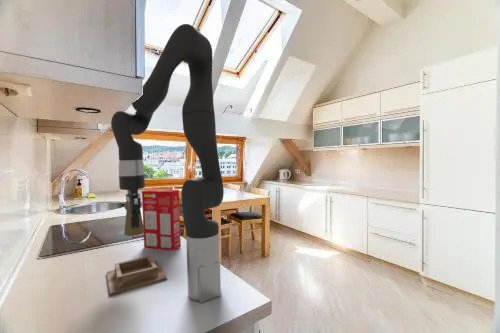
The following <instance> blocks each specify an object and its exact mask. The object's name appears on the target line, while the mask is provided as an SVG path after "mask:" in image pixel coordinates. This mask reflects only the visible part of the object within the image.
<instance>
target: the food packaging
mask: <svg viewBox="0 0 500 333" xmlns="http://www.w3.org/2000/svg"><path fill="white" fill-rule="evenodd" d="M141 200H142V201H141V202H142V221H143V226H144V231H145V232H144V233H143V248H144V249H153V250H163V251H164V250H165V251H176V250H177V249H178V248H180V247H181V241H182V240H181V220H180V218H181V217H180V216H181V214H180V213H181V212H180V190H179V189H146V190H142V191H141Z"/></svg>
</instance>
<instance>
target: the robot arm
mask: <svg viewBox="0 0 500 333" xmlns="http://www.w3.org/2000/svg"><path fill="white" fill-rule="evenodd" d="M182 62H184V63H185V64H187V66H188V70H189V71H188V72H189V79H190V80H189V82H190V83H189V89H188V92H187V94H186V96H185V99H184V102H183V104H182V109H181V117H182V129H183V134H184V136H185V138H186V140H187V142H188V143H189V146H190V147H191V148H192V150H193V152H194V153H195V154H196V156H197V159H198V161H199V164H200V169H201V177H194V178H193V177H192V178H188V179H186V180H185V181H184V182H183V183H182V187H181V205H182V206H181V207H182V218H183V225H184V228H185V229H184V230H185V236H186V237H185V238H186V239H185V240H186V245H185V246H186V265H187V266H186V267H187V268H186V271H187V272H186V276H187V295H188V296H187V297H188V298H190V299H191V300H193V301H198V302H199V303H205V302H207V301H210V300H213V299H215V298H218V297H221V296H222V292H221V291H222V288H221V262H220V233H219V232H220V229H219V228H220V226H219V223H218V222H217V221H216V220H213V219H208V218H206V214H205V210H210V209H213V208H217V207H220V205H221V204H222V202H223V199H224V183H223V178H222V171H221V166H220V160H219V151H218V142H217V132H216V131H217V130H216V128H217V127H216V115H215V104H214V91H213V47H212V43H211V41H210V40H209V39H208V37H206V36H205V35H204V34H202V33H201V32H200V31H199V30H198V29H197V28H196V27H194V26H193V25H191V24H188V23H183V24H181V25H179V26H177V28H175V30H174V31H173V32H172V33H171V35H170V36H169V39H168V40H167V42H166V45H165V46H164V49H163V50H162V52H161V54H160V56H159V58H158V60H157V62H156V64H155V66H154V68H153V70H152V71H151V74H150V75H149V77H148V78H147V80H146V81H145V83H144V84H143V85H142V87H143V95H142V96H141V97H140V98H139V99H138V100H136V101H135V102H133V103H132V102H131V105H132V108H133V109H134V110H135V112H129V111H124V110H118V111H116V112H114V114H113V115H112V117H111V121H110V125H111V130H112V133H113V136H114V138H115V139H114V140H115V143H116V145H117V148H118V184H119V185H118V186H119V190H122V191H127V193H126V194H125V200H126V201H128V209H129V210H130V216H131V226H132V228H134V227H137V228H138V227H139V215H140V214H141V215H142V212H141V213H140V210H141V209H140V201H141V200H142V197H141V194H140V193H139V189H140V190H141V189H144V188H146V185H145V184H146V181H145V180H146V178H145V165H144V155H143V153H144V151H143V145H142V144H141V143H140V142H138V141H136V140H134V137H133V136H138V135H141V134H143V133H145V131H147V129H148V127H149V125H150V123H151V121H152V118H153V115H154V113H155V112H156V111H157V109H158V108H159V107H160V106H161V105H162V103H163V102H164V101H165V99H166V97H167V95H168V93H169V87H170V83H171V80H172V76H173V73H175V71H176V69H177V68H178V66H180V64H181V63H182ZM126 201H125V202H126ZM130 203H131V206H130ZM134 209H137V211H136V212H133V210H134Z"/></svg>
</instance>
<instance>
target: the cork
mask: <svg viewBox="0 0 500 333" xmlns="http://www.w3.org/2000/svg"><path fill="white" fill-rule="evenodd" d="M123 206H124V209H125V210H126V212H125V221H124V222H125V223H124V232H123V233H124V234H123V235H124V236H126V237H133V236H140V235H143V234H144V232H145V231H144V226H143V215H142V211H141V208H143V206H142V201H141V200H140V213H141V214H140V215H139V227H138V228H137V227H134V228H132V226H131V216H130V210H129V209H128V201H125V202H124V205H123ZM130 206H131V203H130ZM136 211H137V209H134V210H133V212H136Z"/></svg>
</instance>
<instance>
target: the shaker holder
mask: <svg viewBox="0 0 500 333" xmlns="http://www.w3.org/2000/svg"><path fill="white" fill-rule="evenodd" d="M106 277H107V284H108V285H107V286H108V292H109V297H110V296H111V295H112V296H114V295H118V294H122V293H124V292H125V293H126V292H128V291H129V292H130V291H132V290H135V289H139V288H142V287H147V286H149V285H152V284H157V283H160V282H163V281H167V280H168V276H167V275H166V273H165V272H164V270H163V269H162V267H161V266H160V264H159V263H158V261H157V260H156V259H155V260H153V258H152V255H148V256H144V257H139V258H138V257H137V258H134V259H130V260H125V261H121V262H117V263H114V269H113V270H109V271H106Z"/></svg>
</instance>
